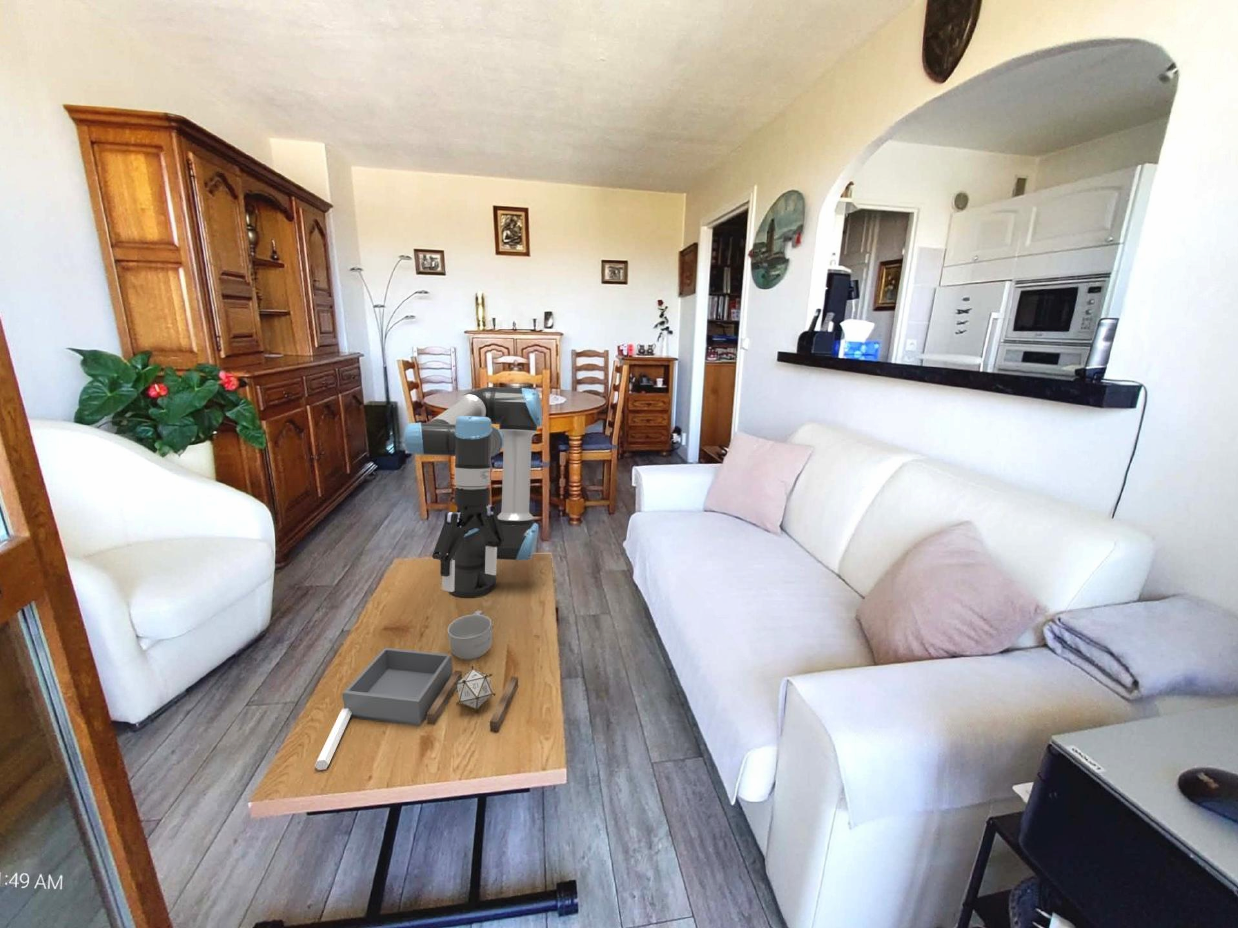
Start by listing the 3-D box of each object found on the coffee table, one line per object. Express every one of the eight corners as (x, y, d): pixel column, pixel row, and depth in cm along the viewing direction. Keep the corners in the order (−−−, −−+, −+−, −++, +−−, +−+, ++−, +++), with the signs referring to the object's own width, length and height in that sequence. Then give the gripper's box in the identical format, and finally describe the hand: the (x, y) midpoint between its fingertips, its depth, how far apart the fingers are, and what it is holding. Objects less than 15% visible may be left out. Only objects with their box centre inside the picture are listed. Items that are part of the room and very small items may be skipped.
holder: (455, 679, 116) (455, 669, 115) (518, 685, 114) (518, 676, 114) (427, 723, 102) (426, 713, 102) (497, 732, 101) (497, 721, 100)
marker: (352, 709, 106) (324, 771, 90) (342, 706, 105) (312, 768, 90) (357, 700, 105) (330, 760, 90) (348, 696, 105) (319, 757, 90)
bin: (386, 669, 118) (384, 647, 117) (452, 676, 116) (451, 654, 115) (345, 716, 103) (342, 692, 101) (420, 725, 101) (418, 701, 100)
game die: (470, 713, 110) (466, 666, 114) (504, 705, 109) (499, 658, 112) (447, 721, 102) (443, 670, 106) (484, 713, 101) (478, 662, 104)
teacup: (480, 668, 120) (479, 640, 118) (440, 661, 122) (438, 633, 120) (504, 636, 133) (504, 610, 131) (467, 630, 135) (466, 604, 133)
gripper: (443, 494, 94) (441, 601, 95) (520, 483, 117) (518, 570, 118) (414, 490, 97) (413, 595, 98) (495, 480, 120) (493, 565, 121)
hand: (470, 581), depth 108 cm, fingers open, 13 cm apart
